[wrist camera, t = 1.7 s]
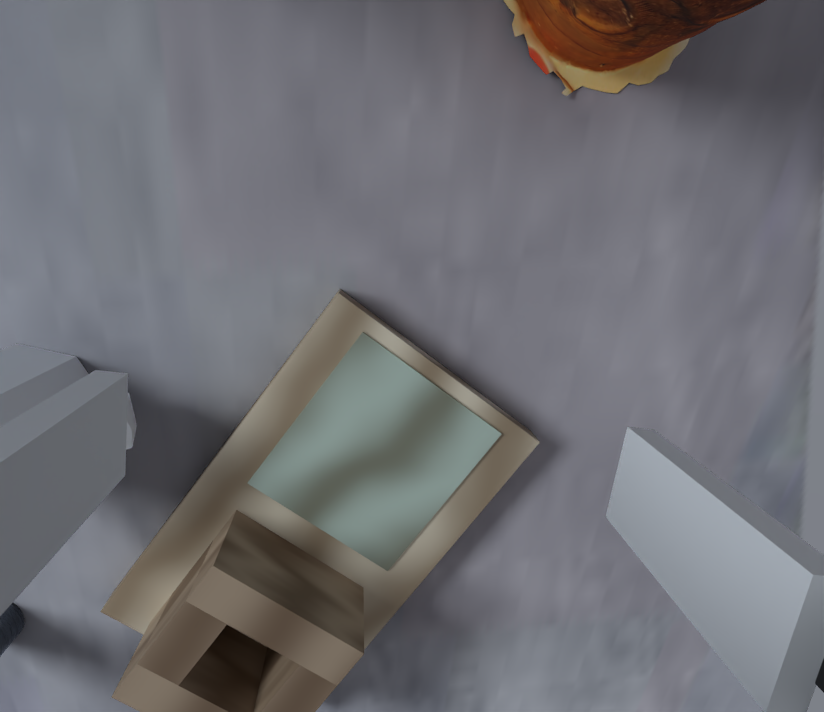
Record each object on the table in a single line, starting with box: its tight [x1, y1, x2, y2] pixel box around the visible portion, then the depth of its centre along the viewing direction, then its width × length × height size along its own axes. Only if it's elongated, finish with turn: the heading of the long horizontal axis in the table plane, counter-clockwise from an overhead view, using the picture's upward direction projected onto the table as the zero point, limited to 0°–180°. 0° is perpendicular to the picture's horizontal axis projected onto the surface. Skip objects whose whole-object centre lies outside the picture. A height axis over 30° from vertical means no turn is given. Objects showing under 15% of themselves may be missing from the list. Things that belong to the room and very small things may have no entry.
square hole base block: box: [101, 289, 540, 712], centre depth 35 cm, size 16×26×8 cm, turn 142°
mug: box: [0, 343, 137, 450], centre depth 31 cm, size 12×9×10 cm
